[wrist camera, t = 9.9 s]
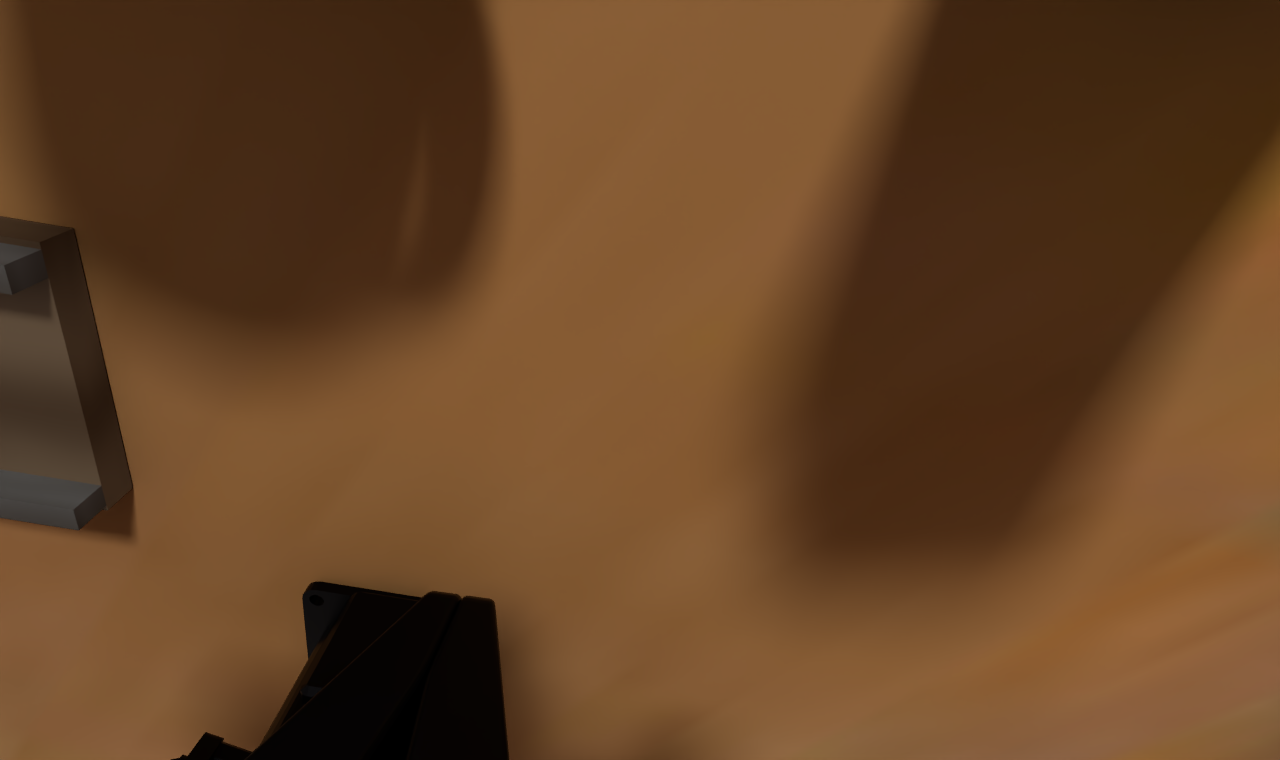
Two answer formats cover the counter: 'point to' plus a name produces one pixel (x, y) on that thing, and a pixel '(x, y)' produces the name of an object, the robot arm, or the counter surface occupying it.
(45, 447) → the track
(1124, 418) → the counter surface
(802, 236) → the counter surface
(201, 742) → the robot arm
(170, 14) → the counter surface
